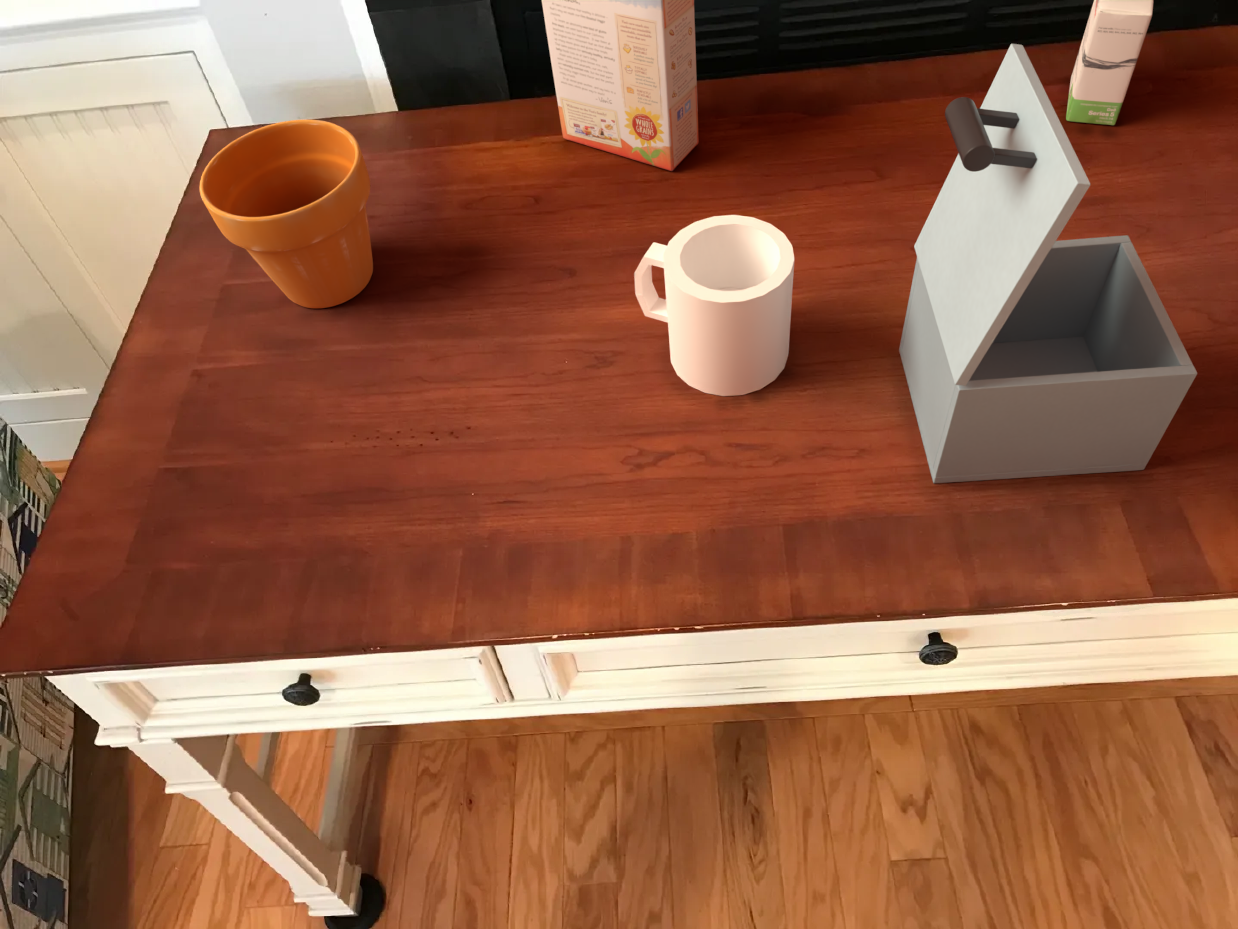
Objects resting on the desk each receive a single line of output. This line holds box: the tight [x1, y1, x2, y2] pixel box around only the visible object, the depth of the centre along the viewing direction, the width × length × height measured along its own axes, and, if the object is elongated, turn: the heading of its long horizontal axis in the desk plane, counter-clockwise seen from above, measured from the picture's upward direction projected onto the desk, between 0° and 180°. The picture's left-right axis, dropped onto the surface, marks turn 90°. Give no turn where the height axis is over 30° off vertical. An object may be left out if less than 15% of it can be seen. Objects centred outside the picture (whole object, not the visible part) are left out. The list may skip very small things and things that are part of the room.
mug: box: [633, 214, 795, 397], centre depth 81 cm, size 14×10×11 cm
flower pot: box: [198, 119, 374, 309], centre depth 91 cm, size 14×14×13 cm
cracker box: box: [541, 0, 700, 172], centre depth 96 cm, size 14×6×21 cm, turn 57°
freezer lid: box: [913, 43, 1092, 386], centre depth 63 cm, size 16×14×5 cm
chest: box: [898, 234, 1198, 484], centre depth 74 cm, size 16×14×11 cm
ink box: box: [1065, 0, 1154, 126], centre depth 97 cm, size 9×5×12 cm, turn 160°
